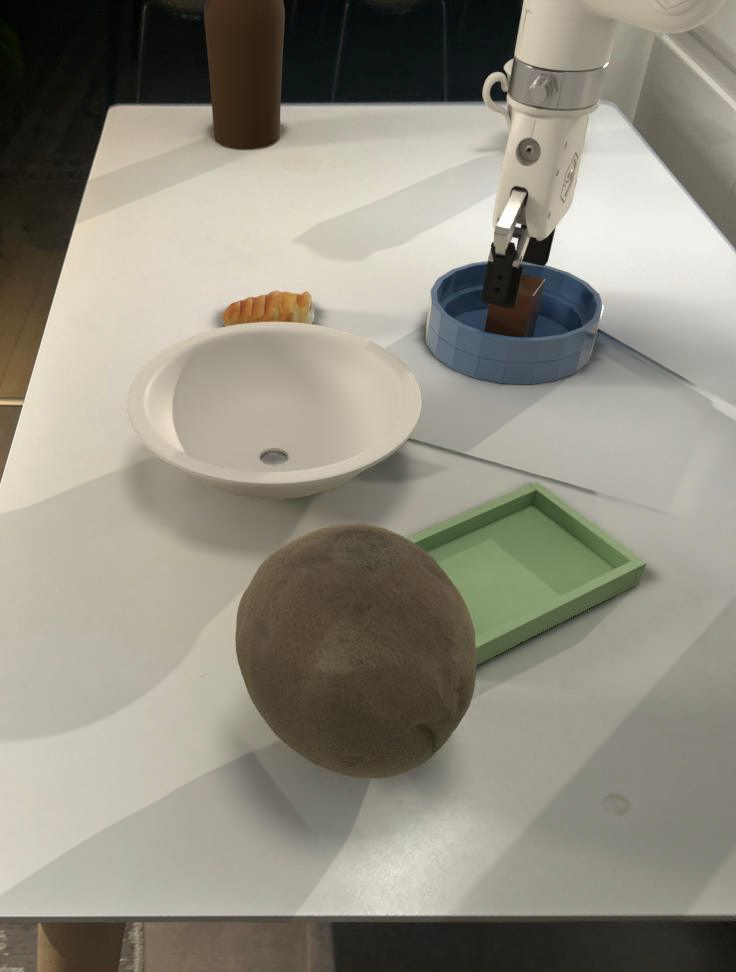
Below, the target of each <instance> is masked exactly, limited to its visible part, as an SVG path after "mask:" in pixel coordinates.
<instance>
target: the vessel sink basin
mask: <svg viewBox="0 0 736 972" xmlns="http://www.w3.org/2000/svg"><path fill="white" fill-rule="evenodd" d="M422 406H423V403H422V394H421V390H420V387H419V384H418V381H417V380H416V378H415V376H414V374H413V373H412V371H411V370H410V369H409V368H408V366H407V364H405V363H403V361H401V360H400V358H399V357H398V356H396V355H395V354H393V353H392V352H391V351H389V350H388V349H386V348H385V347H383V346H381V345H379V344H377V343H375V342H373V341H371V340H370V339H368V338H365V337H362V336H359V335H357V334H354V333H351V332H348V331H344V330H341V329H338V328H334V327H329V326H325V325H319V324H313V323H312V324H305V323H294V322H257V323H246V324H238V325H232V326H226V327H225V326H222V327H217V328H213V329H209V330H206V331H203V332H200V333H196V334H194V335H191V336H189V337H186V338H184V339H181V340H179V341H177V342H175V343H173V344H172V345H169V346H168V347H166V348H165V349H163V350H161V351H160V352H159V353H157V354H156V355H154V356H153V357H152V358H151V359H149V361H147V362H146V363H145V364H144V365H143V367H142V368H141V369H139V371H138V373H137V374H136V375H135V377H134V379H133V380H132V382H131V384H130V386H129V389H128V393H127V399H126V412H127V413H126V414H127V417H128V421H129V423H130V426H131V428H132V430H133V431H134V433H135V435H136V437H137V438H138V440H140V442H141V443H142V445H144V446H145V447H146V448H147V449H148V450H149V451H150V452H151V453H152V454H154V455H155V456H156V457H158V458H159V459H161V460H162V461H164V462H165V463H167V464H169V465H170V466H173V467H175V468H177V469H179V470H180V471H183V472H184V473H186V474H187V475H189V477H192V478H194V479H195V480H197V481H199V482H200V483H202V484H204V485H206V486H208V487H210V488H213V489H214V490H218V491H221V492H224V493H227V494H229V495H234V496H238V497H243V498H248V499H255V500H257V499H258V500H290V499H292V500H293V499H298V498H303V497H309V496H313V495H317V494H320V493H323V492H326V491H329V490H332V489H335V488H337V487H338V486H342V485H343V484H345V483H347V482H349V481H350V480H352V479H354V478H355V477H357V476H358V475H360V474H361V473H363V472H364V471H366V470H368V469H370V468H372V467H374V466H376V465H378V464H380V463H381V462H383V461H385V460H386V459H388V458H389V457H390V456H392V455H393V454H394V453H396V452H397V451H398V450H399V449H400V448H402V446H403V445H404V444H405V443H406V442H407V441H408V440H409V439H410V437H411V436H412V434H413V433H414V431H415V430H416V427H417V425H418V423H419V421H420V417H421V414H422V408H423V407H422ZM269 452H280V453H283V454H285V456H286V457H287V460H286V461H284V462H283V463H281V464H273V465H272V464H267V463H265V462H264V461H262V460H261V457H262V455H263V454H265V453H269Z"/></svg>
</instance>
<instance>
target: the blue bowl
mask: <svg viewBox="0 0 736 972" xmlns="http://www.w3.org/2000/svg"><path fill="white" fill-rule="evenodd" d="M487 263H488V260H486V261H479V262H471V263H469V264H464V265H462V266H459V267H456V268H453V269H450V270H449V271H447V272H445V273H444V274H442V275H441V276H439V277H438V278H437V279H436V281H435V282H434V284H433V286H432V287H431V289H430V291H429V292H430V293H429V300H428V306H427V307H428V308H427V317H426V324H425V331H424V332H425V343H426V345H427V347H428V349H429V350H430V352H431V353H432V354H433V356H434V358H436V359H437V360H439V361H440V362H441V363H443V364H444V365H446V366H447V367H448V368H450V369H451V370H454V371H456V372H459V373H461V374H463V375H465V376H469V377H471V378H473V379H478V380H483V381H487V382H492V383H493V382H494V383H497V384H504V385H509V384H510V385H536V384H544V383H550V382H555V381H556V382H557V381H559V380H561V379H564V378H566V377H569V376H572V375H574V374H576V373H578V372H579V371H580V370H581V369H582V368H583V367H584V366H586V365H587V364H588V363H589V361H590V359H591V355H592V353H593V350H594V345H595V342H596V338H597V334H598V330H599V327H600V323H601V320H602V316H603V312H604V309H605V306H604V304H603V301H602V297H601V295H600V293H599V292H598V291H597V290H596V289H595V288H593V286H592V285H591V284H590V283H588V282H587V281H586V280H584V279H581V278H580V277H579V276H576V275H574V274H572V273H571V272H569V271H565V270H563V269H559V268H556V267H553V266H550V265H547V264H546V265H544V266H541V265H536V264H532V263H527V262H523V261H522V262H521V264H523V265H524V270H523V274H524V275H529V276H534V277H538V278H543V279H545V284H544V289H543V293H542V298H541V303H540V307H539V312H538V317H537V321H536V326H535V331H534V335H533V337H532V338H531V337H509V336H503V335H498V334H493V333H487V332H484V330H485V324H486V318H487V313H488V307H489V303H485V302H483V301H482V300H481V296H482V291H483V285H484V280H485V274H486V269H487Z"/></svg>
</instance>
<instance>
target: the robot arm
mask: <svg viewBox="0 0 736 972" xmlns="http://www.w3.org/2000/svg"><path fill="white" fill-rule="evenodd" d="M726 1H727V0H523V3H522V8H521V14H520V19H519V25H518V31H517V38H516V41H515V48H514V55H513V58H512V59H513V65H512V70H511V76H510V82H509V88H508V91H507V94H506V103H507V102H508V103H509V104H510V105H511V106H512V107H514V108H516V109H515V113H514V117H513V121H512V125H511V129H510V132H509V133H508V136H507V143H506V148H505V151H504V156H503V159H502V164H501V170H500V175H499V180H498V183H497V184H498V185H497V190H496V195H495V201H494V208H493V215H492V228H493V229H494V230H493V241H492V242H491V245H490V250H489V253H488V254H489V255H488V258H487V261H488V263H487V269H486V274H485V280H484V285H483V291H482V296H481V300H482V301H483V302H485V303H489V304H493V305H497V306H501V307H505V308H509V309H512V308H514V306H515V305H516V303H517V298H518V294H519V289H520V284H521V279H522V275H523V270H524V265H523V264H521V262H522V261H523V262H527V263H532V264H536V265H541V266H544V265H547V264H548V262H549V259H550V254H551V250H552V246H553V241H554V238H555V237H554V236H555V233H556V229H557V226H558V225H559V224H560V222H561V221H562V220H563V218H564V217H565V216H566V214H567V213H568V211H569V210H570V208H571V206H572V204H573V201H574V197H575V193H576V187H577V182H578V177H579V171H580V166H581V163H582V162H581V161H582V156H583V151H584V147H585V141H586V136H587V130H588V123H589V117H590V114H592V113H594V112H596V111H597V109H599V106H600V102H601V97H602V94H603V93H602V92H603V89H604V85H605V80H606V77H607V76H606V75H607V72H608V69H609V68H608V67H609V65H610V60H611V56H612V51H613V47H614V43H615V38H616V35H617V30H618V26H619V21H620V22H622V23H626V24H629V25H632V26H635V27H638V28H641V29H643V30H647V31H651V32H655V33H662V34H679V33H685V32H688V31H692V30H694V29H697V27H700V26H701V25H703V24H704V23H706V22H707V21H709V20H710V19H711V18H713V16H715V15H716V14H717V13H718V12H719V10H720V9H721V8H723V6H724V4H725V3H726ZM517 224H519V225H520V227H519V226H516V225H517ZM513 238H514V239H517V244H515V242H512V240H513Z"/></svg>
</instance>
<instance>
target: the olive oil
mask: <svg viewBox="0 0 736 972" xmlns="http://www.w3.org/2000/svg"><path fill="white" fill-rule="evenodd" d="M203 9H204V10H203V12H204V13H203V21H204V30H205V43H206V51H207V53H206V54H207V62H208V75H209V86H210V96H211V97H210V98H211V112H212V114H211V115H212V127H213V138H214V140H215V142H216V143H217V144H218V145H219V146H223V147H224V148H225V147H226V148H228V149H235V150H257V149H262V148H266V147H269V146H271V145H274V144H276V143H277V142H278V141H279V140H280V135H281V106H282V105H281V104H282V79H283V57H284V42H285V41H284V40H285V39H284V38H285V23H286V10H285V4H284V0H205V4H204V8H203Z"/></svg>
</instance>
